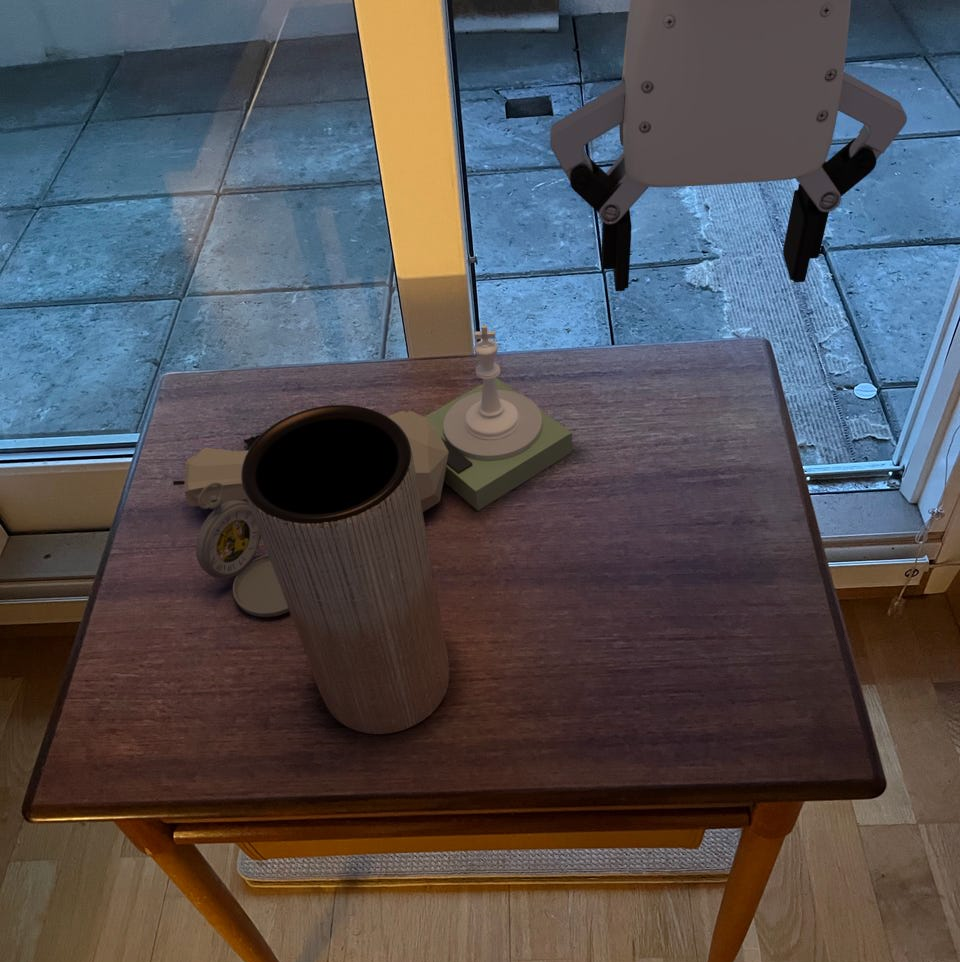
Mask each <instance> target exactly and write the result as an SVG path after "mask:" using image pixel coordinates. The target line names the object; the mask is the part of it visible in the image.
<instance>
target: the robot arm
mask: <svg viewBox="0 0 960 962" xmlns="http://www.w3.org/2000/svg"><path fill="white" fill-rule="evenodd" d="M851 6H852V0H630V1H629V9H628V16H627V22H626V23H627V24H626V32H625V41H624V50H623V60H622V61H623V62H622V64H623V65H622V75H621V83H619V84H617V85H616V86H614V87H612V88H610V89H609V90H607V91H605V92H604V93H602V94H601V95H599V96H597V97H595V98H594V99H592V100H591V101H588V102H587V103H586V104H584V105H582V106H581V107H578V108H577V109H576V110H574V111H572V112H571V113H569V114H567V115H566V116H564V117H562V118H561V119H559V120H557V121H556V122H554V123H553V124H552V125H551V126H550V128H549V146H550V149H551V151H552V152H553V154H554V156H555V158H556V160H557V162H558V164H559V165H560V167H561V169H562V171H563V172H564V173H565V175H566V177H567V178H568V181H569V183H570V187H571V189H572V190H573V192H575V193H576V195H578V196H579V197H581V198H582V199H583V200H584V201H585V202H586V203H587V204H588V205H589V206H590V207H591V208H593V209H594V210H595V211H596V212H597V213H598V214H599V215H598V216H599V219H600V220H601V269H602V270H613V282H614V291H615V292H625V290H626V289H629V287H630V286H629V284H630V265H631V247H632V218H631V211H630V209H631V208H632V207H633V206H634V205H635V204H636V202H637V201H638V200H639V199H640V198H641V197H642V196H643V195H644V193H645V192H646V191H647V190H648V189H649V188H683V187H700V186H702V187H703V186H718V185H720V186H721V185H734V184H749V183H751V184H752V183H766V182H767V183H768V182H778V181H780V182H781V181H788V180H794V179H796V181H798V187H797V189H794V191H793V195H792V202H791V207H790V212H789V217H788V221H787V223H788V224H787V227H786V233H785V238H784V243H783V247H782V255H783V260H784V262H785V266H786V269H787V273H788V277H789V280H790V281H793V283H805V281H806V277H807V274H808V269H809V265H810V260H811V259H818V258H819V257H820V254H821V249H822V245H823V241H824V236H825V231H826V227H827V224H828V223H827V222H828V218H829V214H830V212H832V211H834V210H836V209H837V208H838V207H839V205H840V204H841V201H842V197H843V196H844V195H845V194H846V193H848V192H849V191H850V190H851V189H853V188H854V187H855V186H856V185H857V184H859V183H860V182H861V181H862V180H864V179H865V178H866V177H867V176H868V175H870V174H871V173H872V172H873V171H874V170H875V168H876V167H877V161H878V159H879V158H880V156H881V155H882V154H884V153H885V152H886V151H887V149H888V148H889V147H890V145H892V143H893V141H894V140H895V139H896V137H897V136H898V135H899V134H900V132H901V131H902V130H903V128H904V127H905V125H906V123H907V120H908V115H907V113H906V112H905V110H904V107H903V105H902V103H901V102H900V101H899V100H897V99H895V98H894V97H892V96H890V95H888V94H886V93H885V92H882V91H881V90H879V89H877V88H876V87H875V88H874V87H873V86H871V85H869V84H867V83H866V82H864V81H862V80H860V79H858V78H856V77H854V76H852V75H851V74H849V73H847V72H845V64H846V57H847V56H846V55H847V45H848V37H849V29H850V17H851ZM839 112H840V113H841V114H843V115H846V116H847V117H849V118H851V119H854V120H856V121H858V122H859V123H861V124H863V125H862V127H861V129H860V130H859V131H858V135H857V136H856V137H855V138H852V140H850V141H849V142H848V143H846V145H844V146H843V147H842V148H841V149H840V150H839V151H837V152H836V153H835V154H834V155H833V156H832V157H830V158H829V159H827V158H828V155H829V152H830V150H831V147H832V143H833V139H834V134H835V129H836V124H837V118H838V113H839ZM618 126H619V127H618ZM616 127H618V128H619V131H618V132H619V141H620V145H621V147H622V150H623V151H622V154H620V155H619V157H618V158H617V159H616V161H615V162H614V163H613V164H612V165H611V166H610V168H609V169H608V170H607V171H606V172H605V170H604V169H602V168H601V167H600V166H599V165H598V164H597V163H596V162H595V161H594V160H592V158H591V157H589V155H588V154H587V151H586V148H585V146H586V145H588V144H589V143H591V142H592V141H594V140H595V139H598V138H599V137H600V136H602V135H604V134H606V133H607V132H609V131H611V130H613V129H614V128H616ZM826 160H827V161H826Z"/></svg>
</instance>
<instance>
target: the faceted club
mask: <svg viewBox="0 0 960 962" xmlns="http://www.w3.org/2000/svg"><path fill="white" fill-rule="evenodd" d="M386 416H387V417H389V418H390V419H392V420H393V421H394V422H395V423H397V424H398V425H399V426H400V427H401V429H402V430H403V431H404V433H405V434H406V436H407V438H408V440H409V442H410V446H411V450H412V455H413V461H414V466H415V472H416V478H417V483H418V489H419V495H420V501H421V506H422V512H423V513H424V512H426V511H427V510H429V509H431V508H433V507H434V506H435V505H437V504H439V503H440V502H441V497H442V491H443V485H444V476H445V470H446V465H447V459H448V454H449V452H448V450H447V448H446V446H445V444H444V442H443V441H442V439H441V437H440V435H439V433H438V431H437V430H436V429H435V427H434V426H433V425H432V424H431V423H430V422H429V421H428V420H427V419H426V418H425V416H423V415H421V414H418V413H416V412H414V411H412V410H407V411H405V410H401V411H398V412H395V413H393V414H390V415H386ZM248 451H249V449H248V450H239V451H238V450H229V449H221V448H213V447H206V446H205V447H203V448H202V449H201V450H200V451H199V452H197V454H194V455H193V456H189V458H187V459H186V462H185V466H184V480H173V481H172V483H173V484H172V485H173V486H181V485H184V491H183V492H184V496H185V500H186V501H187V505H188V506H190V507H199V504H198V499H199V495H200V493H201V491H202V490H203V489H204V488H205V487H206V486H208V485H209V484H211V483H216V482H218V483H221V484H222V485H223V488H224V493H223V496H222V503H221V505H222V504H224V503H225V502H229V501H233V500H234V501H244V502H247V503H248V500H247V498H246V495H245V492H244V489H243V486H242V480H241V472H242V466H243V462H244V459H245V457H246V455H247V453H248ZM220 492H221V490H220V487H219V486H211V487H210V488H208V489H207V490H206V491H205V492H204V493H203V496H202V498H201V503H202V505H204V506H209V503H210V501H211V500H210V497H212V496H216V497H219V496H220Z"/></svg>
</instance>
